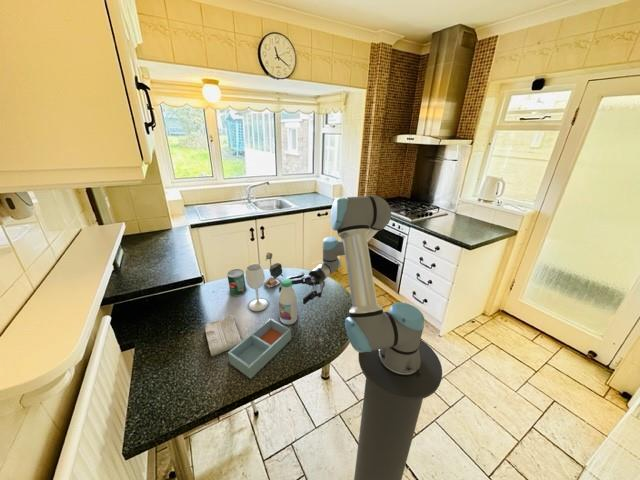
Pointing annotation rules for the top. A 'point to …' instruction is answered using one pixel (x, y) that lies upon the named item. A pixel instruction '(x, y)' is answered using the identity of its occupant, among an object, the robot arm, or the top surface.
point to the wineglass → (256, 285)
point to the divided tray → (259, 347)
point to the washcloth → (222, 335)
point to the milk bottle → (287, 303)
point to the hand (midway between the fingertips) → (291, 295)
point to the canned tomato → (236, 282)
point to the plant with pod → (273, 272)
